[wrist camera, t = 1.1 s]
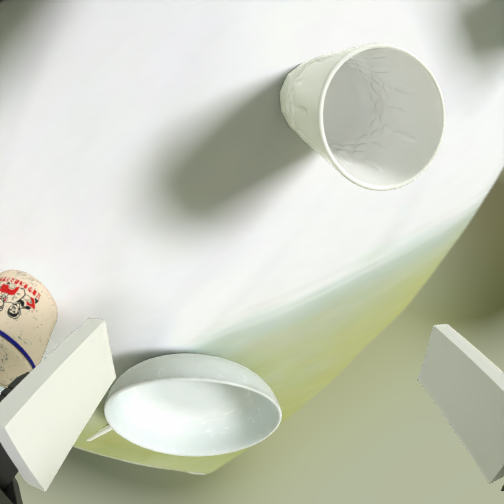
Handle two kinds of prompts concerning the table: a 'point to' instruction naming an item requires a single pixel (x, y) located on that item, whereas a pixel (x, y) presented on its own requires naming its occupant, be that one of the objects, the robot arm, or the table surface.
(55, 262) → the table surface
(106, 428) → the fork
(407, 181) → the white cup
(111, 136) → the table surface
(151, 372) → the serving bowl
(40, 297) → the teacup with lid
